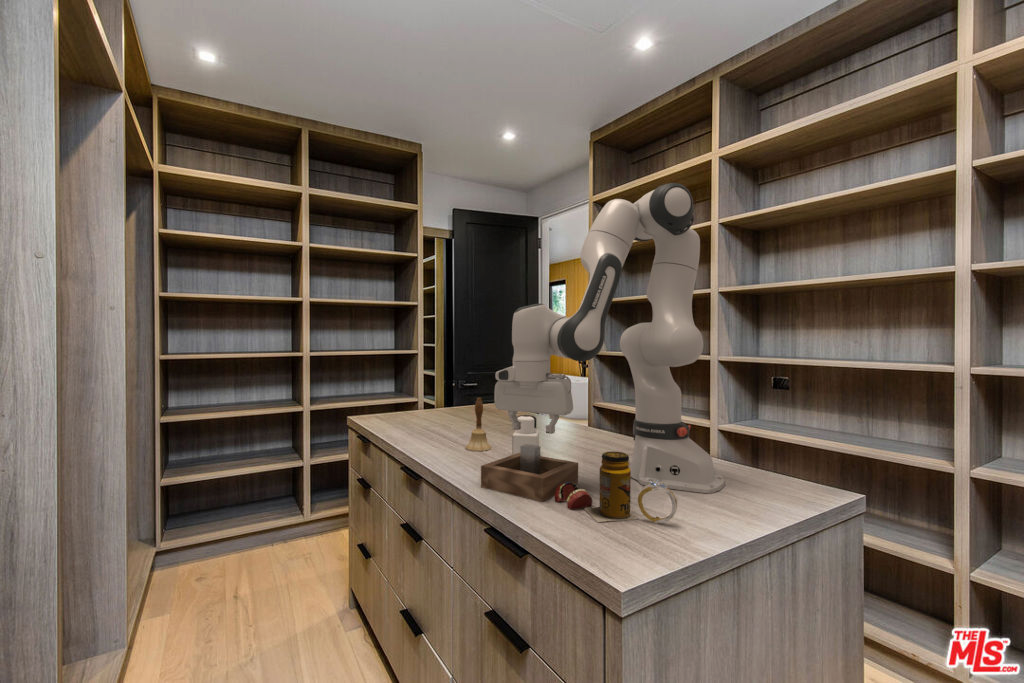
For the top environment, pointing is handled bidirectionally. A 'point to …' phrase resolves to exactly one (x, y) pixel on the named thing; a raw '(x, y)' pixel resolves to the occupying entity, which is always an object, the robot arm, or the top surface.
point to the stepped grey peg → (530, 458)
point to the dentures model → (572, 496)
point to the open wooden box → (528, 477)
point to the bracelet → (657, 486)
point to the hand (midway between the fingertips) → (533, 431)
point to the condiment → (614, 489)
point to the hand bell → (478, 432)
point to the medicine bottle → (525, 433)
